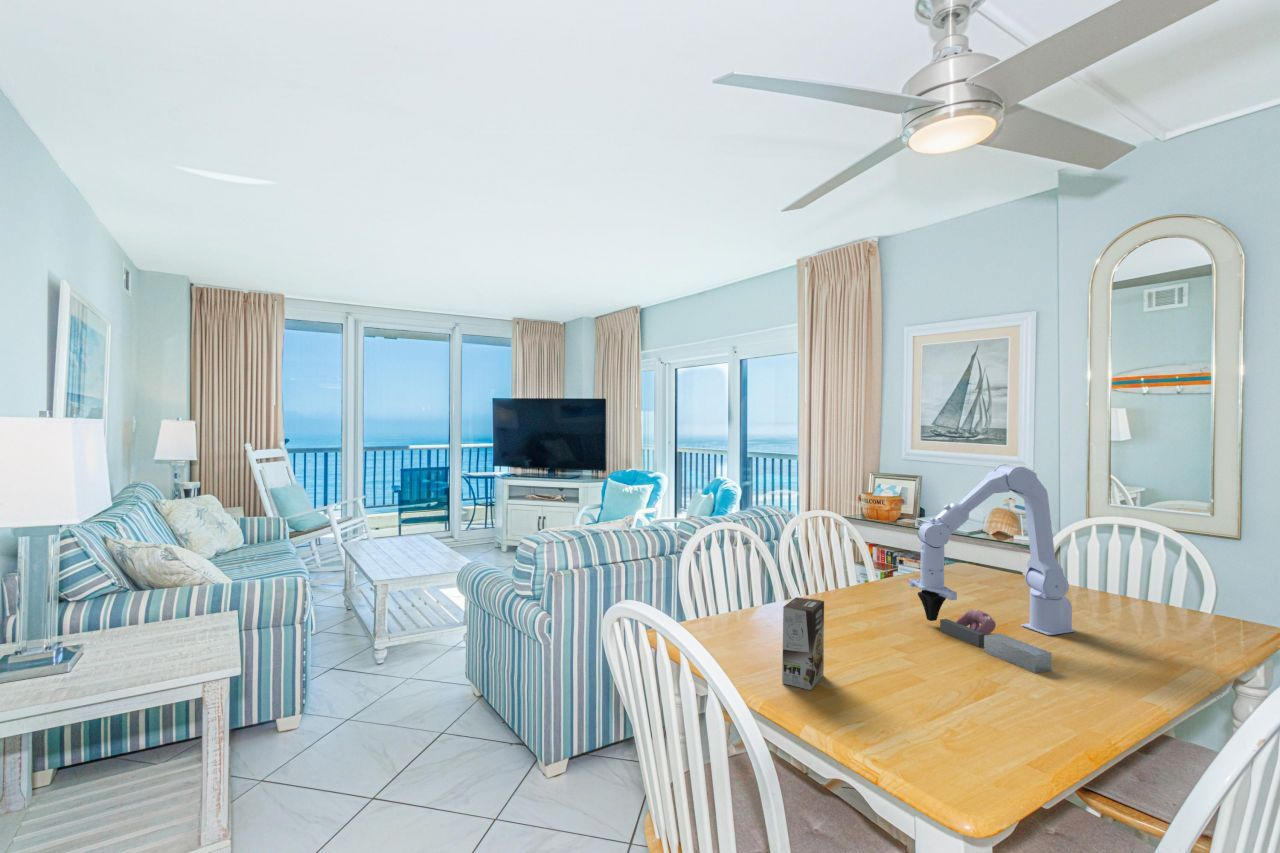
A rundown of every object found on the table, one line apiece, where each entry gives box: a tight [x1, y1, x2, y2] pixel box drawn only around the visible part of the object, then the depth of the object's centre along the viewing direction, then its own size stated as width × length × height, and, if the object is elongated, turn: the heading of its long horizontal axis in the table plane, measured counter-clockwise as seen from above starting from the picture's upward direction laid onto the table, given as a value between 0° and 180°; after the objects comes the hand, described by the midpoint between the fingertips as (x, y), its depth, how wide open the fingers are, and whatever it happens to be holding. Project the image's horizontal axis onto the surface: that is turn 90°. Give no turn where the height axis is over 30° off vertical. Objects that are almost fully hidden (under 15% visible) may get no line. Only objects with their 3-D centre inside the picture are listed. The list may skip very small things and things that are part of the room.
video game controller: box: [955, 608, 997, 635], centre depth 160 cm, size 10×5×7 cm, turn 3°
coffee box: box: [781, 597, 825, 691], centre depth 131 cm, size 9×6×16 cm
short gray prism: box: [939, 618, 985, 648], centre depth 156 cm, size 2×12×3 cm, turn 19°
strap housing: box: [983, 632, 1052, 674], centre depth 142 cm, size 5×13×4 cm, turn 19°
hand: (931, 619), depth 166 cm, fingers closed
